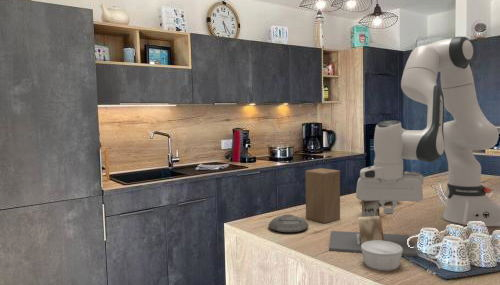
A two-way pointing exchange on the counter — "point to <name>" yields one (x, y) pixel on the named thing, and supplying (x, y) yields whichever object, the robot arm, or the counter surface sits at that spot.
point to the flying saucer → (288, 223)
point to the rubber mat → (353, 244)
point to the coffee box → (370, 208)
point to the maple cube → (370, 228)
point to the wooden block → (323, 195)
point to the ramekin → (381, 254)
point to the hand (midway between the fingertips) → (388, 213)
